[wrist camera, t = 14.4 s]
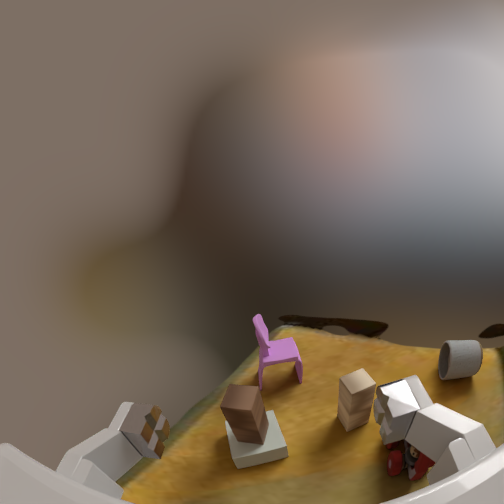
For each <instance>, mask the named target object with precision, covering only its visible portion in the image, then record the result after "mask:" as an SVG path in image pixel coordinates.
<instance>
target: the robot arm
mask: <svg viewBox="0 0 504 504" xmlns="http://www.w3.org/2000/svg"><path fill="white" fill-rule="evenodd" d="M376 395H377V398H376V399H375V400H374V416H375V420H376V423H378V424H379V425H381V428H380V431H379V432H380V435H381V438H382V441H383V444H384V445H385V444H389V443H392V442H396V441H399V440H402V439H405V440H406V441H407V442H409V443H410V444H411V445H413V446H414V447H415V448H417V449H418V450H419V451H421V452H422V453H423V454H425V455H426V456H427V457H429V458H430V459H432V460H433V461H434V462H436V463H435V465H434V466H433V467H432V469H431V470H430V471H429V473H428V474H427V478H428V481H429V484H430V486H427V487H425V488H422V489H420V490H418V491H415V492H412V493H410V494H407V495H404V496H402V497H399V498H396V499H393V500H390V501H387V502H383V503H380V504H504V444H502V445H501V446H499V447H498V448H496V447H495V445H494V444H493V442H492V440H491V438H490V436H489V435H488V433H487V431H486V429H485V428H484V426H483V424H481V423H478V422H476V421H474V420H472V419H470V418H467V417H465V416H463V415H461V414H459V413H457V412H454V411H452V410H450V409H448V408H446V407H444V406H442V405H440V404H438V403H435V404H433V402H432V401H431V399H430V397H429V395H428V394H427V392H426V390H425V388H424V387H423V385H422V383H421V382H420V380H419V378H418V377H417V376H416V375H414V376H410V377H407V378H404V379H400V380H397V381H393V382H390V383H387V384H383V385H380V386H378V387H377V389H376ZM161 412H162V411H161V409H160V408H159V406H155V405H147V404H139V403H131V402H124V403H123V404H121V406H120V408H119V409H118V411H117V413H116V415H115V417H114V419H113V420H112V422H111V424H110V426H109V428H108V429H107V428H105V429H103V430H102V431H100V432H98V433H97V434H95V435H94V436H92V437H90V438H89V439H87V440H85V441H83V442H82V443H80V444H78V445H77V446H75V447H73V448H72V449H70V450H68V451H67V452H66V454H65V456H64V457H63V459H62V461H61V463H60V464H59V466H58V468H57V470H56V471H53V470H51V469H50V468H48V467H46V466H44V465H42V464H41V463H39V462H37V461H36V460H34V459H32V458H31V457H29V456H27V455H26V454H24V453H23V452H21V451H20V450H18V449H17V448H15V447H14V446H12V445H11V444H9V443H3V444H0V504H134V503H131V502H127V501H124V500H121V496H122V494H123V489H122V488H121V487H120V486H119V485H118V484H117V483H115V481H116V480H118V479H119V478H120V477H121V476H122V475H123V474H125V473H126V472H127V471H128V470H129V469H130V468H131V467H133V466H134V465H135V464H136V463H137V462H138V461H139V460H140V459H141V458H143V457H150V458H156V459H161V456H162V454H163V451H164V448H165V446H164V444H163V442H164V441H165V440H166V439H168V436H169V430H170V426H169V423H168V421H167V419H166V418H165V417H164V416H162V415H161ZM142 456H143V457H142Z"/></svg>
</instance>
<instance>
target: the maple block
mask: <svg viewBox="0 0 504 504" xmlns="http://www.w3.org/2000/svg"><path fill="white" fill-rule="evenodd" d="M375 387H376V383H375V382H374V380H373V379H372V378H371V377H370V376H369V375H368V374H367V373H366V371H365V370H364V369H363V368H362V369H360V370H357V371H355V372H352V373H350V374H347V375H345V376H342V377H340V381H339V399H338V413H337V417H338V418H339V420H340V421H341V423H342V424H343V426H344V428H345V429H346V431H347V432H348V431H350V430H352V429H355V428H357V427H359V426H361V425H363V424H365V423H367V422H368V421H369V417H370V412H371V407H372V403H373V397H374V392H375Z"/></svg>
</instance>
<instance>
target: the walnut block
mask: <svg viewBox="0 0 504 504" xmlns="http://www.w3.org/2000/svg"><path fill="white" fill-rule="evenodd" d="M220 407H221V409H222V412H223V414H224V416H225V418H226V420H227V422H228V424H229V426H230V428H231V430H232V432H233V434H234V436H235V437H236V439H237V441H238V442H244V443H252V444H262V445H264V441H265V438H266V434H267V430H268V426H269V422H268V418H267V415H266V411H265V408H264V404H263V401H262V397H261V394H260V390H259V386H246V385H234V384H229V386H228V389H227V391H226V394H225V396H224V399H223V401H222V404H221V406H220Z"/></svg>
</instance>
